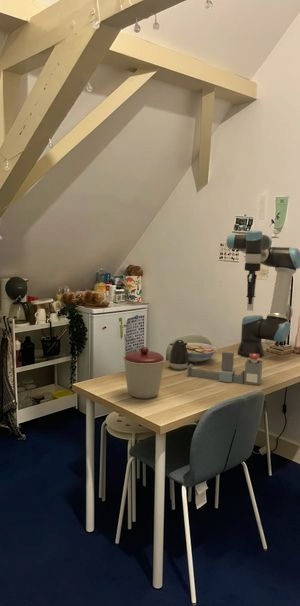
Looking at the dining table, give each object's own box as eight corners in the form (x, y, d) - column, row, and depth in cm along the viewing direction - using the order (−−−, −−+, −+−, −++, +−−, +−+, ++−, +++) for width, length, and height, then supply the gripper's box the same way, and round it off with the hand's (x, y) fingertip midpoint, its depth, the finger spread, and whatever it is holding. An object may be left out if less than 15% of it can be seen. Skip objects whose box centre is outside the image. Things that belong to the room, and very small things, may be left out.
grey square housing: (246, 379, 218) (247, 359, 217) (261, 380, 215) (262, 360, 214) (244, 383, 211) (245, 362, 210) (259, 385, 209) (260, 364, 207)
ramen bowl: (226, 362, 246) (227, 347, 245) (197, 369, 232) (198, 354, 231) (193, 352, 265) (194, 339, 264) (165, 358, 251) (165, 344, 249)
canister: (114, 392, 195) (114, 345, 192) (147, 385, 206) (148, 340, 203) (138, 405, 181) (139, 354, 178) (172, 396, 192) (174, 348, 189)
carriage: (222, 376, 220) (223, 349, 218) (234, 378, 218) (235, 351, 216) (218, 380, 213) (220, 353, 211) (231, 382, 211) (232, 354, 209)
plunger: (249, 367, 216) (250, 352, 214) (259, 368, 214) (260, 353, 213) (247, 369, 211) (248, 354, 210) (257, 371, 210) (258, 355, 209)
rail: (190, 373, 225) (190, 363, 224) (244, 380, 215) (244, 370, 214) (187, 376, 220) (187, 366, 219) (242, 384, 210) (243, 373, 210)
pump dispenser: (178, 372, 226) (179, 343, 224) (164, 367, 234) (165, 339, 232) (192, 368, 233) (193, 340, 231) (178, 364, 241) (179, 336, 238)
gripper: (247, 261, 226) (244, 307, 229) (242, 262, 214) (240, 311, 217) (262, 262, 223) (259, 309, 227) (258, 263, 211) (255, 313, 215)
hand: (250, 310), depth 222 cm, fingers closed
